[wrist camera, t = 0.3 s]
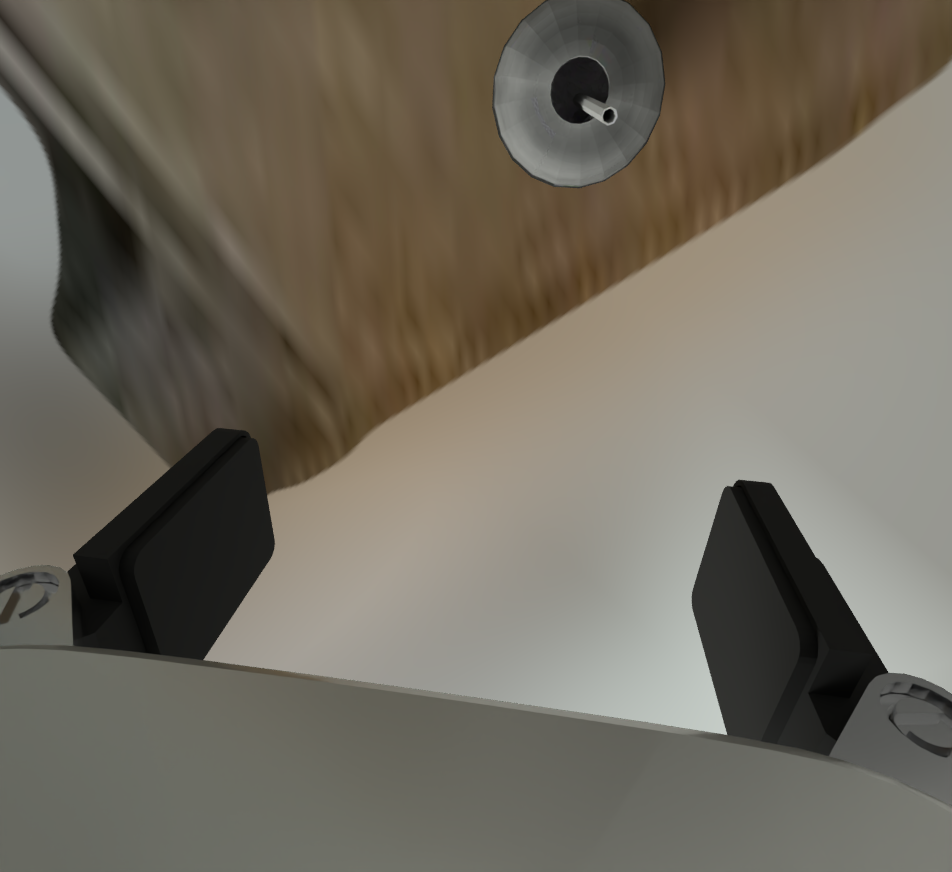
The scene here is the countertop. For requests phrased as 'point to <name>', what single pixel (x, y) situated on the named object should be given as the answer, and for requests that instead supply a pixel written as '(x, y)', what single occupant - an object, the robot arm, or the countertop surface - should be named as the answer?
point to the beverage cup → (578, 90)
